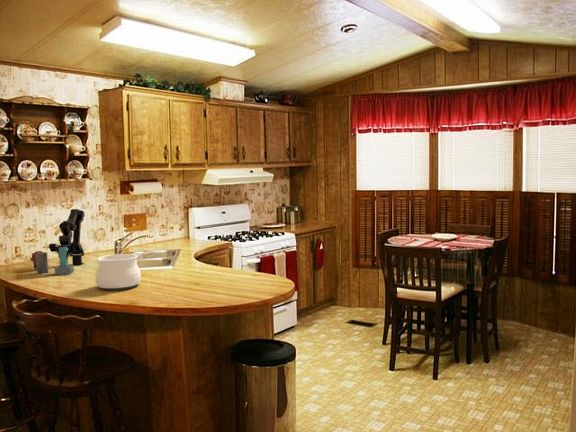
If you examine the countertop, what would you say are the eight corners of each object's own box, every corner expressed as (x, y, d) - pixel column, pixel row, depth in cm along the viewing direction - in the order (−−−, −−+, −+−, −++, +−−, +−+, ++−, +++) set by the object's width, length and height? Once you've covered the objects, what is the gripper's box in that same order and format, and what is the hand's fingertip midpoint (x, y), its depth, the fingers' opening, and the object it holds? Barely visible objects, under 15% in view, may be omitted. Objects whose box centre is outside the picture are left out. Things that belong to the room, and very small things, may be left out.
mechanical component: (33, 271, 347) (29, 269, 355) (49, 269, 353) (45, 267, 361) (31, 253, 346) (28, 251, 354) (48, 251, 352) (44, 249, 360)
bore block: (59, 272, 342) (58, 264, 342) (73, 271, 343) (73, 264, 343) (55, 275, 333) (54, 267, 333) (69, 274, 335) (69, 266, 334)
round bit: (41, 271, 346) (40, 252, 345) (50, 272, 344) (49, 252, 343) (34, 273, 339) (33, 254, 338) (43, 274, 338) (42, 254, 337)
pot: (128, 279, 316) (126, 250, 314) (153, 284, 300) (151, 254, 299) (84, 288, 294) (82, 257, 292) (108, 294, 279) (106, 262, 277)
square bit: (61, 267, 340) (60, 247, 339) (68, 266, 340) (67, 246, 339) (60, 268, 336) (58, 248, 335) (66, 268, 336) (65, 247, 335)
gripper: (48, 231, 339) (44, 251, 329) (78, 230, 341) (75, 249, 331) (53, 241, 347) (48, 261, 337) (82, 240, 350) (79, 259, 340)
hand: (63, 257), depth 336 cm, fingers closed on square bit, 4 cm apart
